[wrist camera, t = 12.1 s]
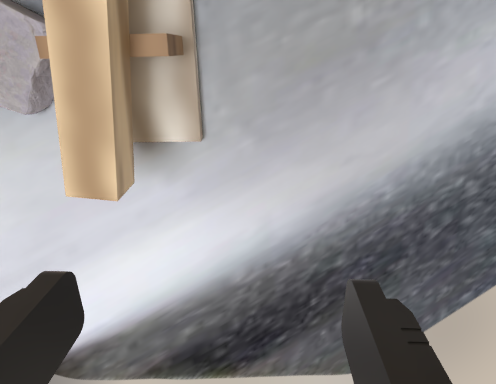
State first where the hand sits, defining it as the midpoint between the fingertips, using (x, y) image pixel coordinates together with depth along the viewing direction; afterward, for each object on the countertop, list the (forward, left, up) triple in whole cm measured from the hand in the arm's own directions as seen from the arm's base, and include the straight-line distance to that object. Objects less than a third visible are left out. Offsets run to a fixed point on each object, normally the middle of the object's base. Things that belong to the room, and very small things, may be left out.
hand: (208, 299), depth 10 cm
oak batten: (+10, -7, -20) cm, 24 cm away
